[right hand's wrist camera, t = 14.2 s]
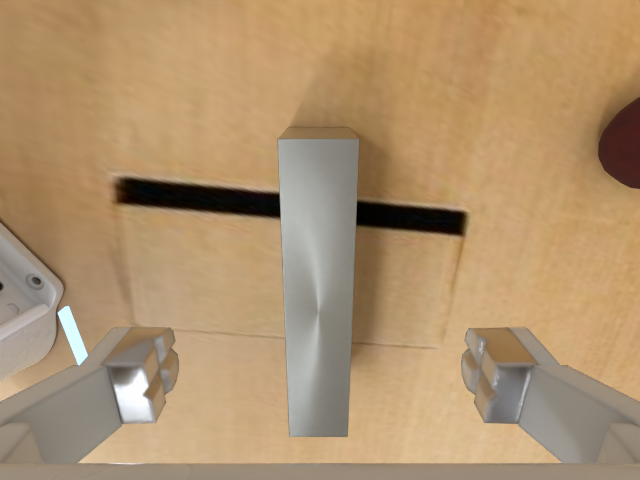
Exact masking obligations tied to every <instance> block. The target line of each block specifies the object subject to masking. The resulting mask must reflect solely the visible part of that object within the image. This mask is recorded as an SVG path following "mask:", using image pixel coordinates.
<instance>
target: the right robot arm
mask: <svg viewBox="0 0 640 480" xmlns="http://www.w3.org/2000/svg"><path fill="white" fill-rule="evenodd" d="M38 278H39V279H40V280H41V281H40V280H38ZM63 291H64V287H63V284H62V282H61V281H60V280H59V279H58V278H57V277H56V276H55V275H54V274H53V273H52V272H51V271H50V270H49V269H48V268H47V267H46V266H45V265H44V264H43V263H42V262H41V261H40V260H39V259H38V258H37V257H36V256H35V255H34V254H32V253H31V252H30V251H29V250H28V249H27V248H26V247H25V246H24V245H23V244H22V243H21V242H20V241H19V240H18V239H17V238H16V237H15V236H14V235H13V234H12V233H11V232H10V231H9V230H8V229H7V228H6V227H5V226H4V225H3V224H2V223H0V383H2V382H3V381H5V380H6V379H8V378H10V377H11V376H13V375H15V374H16V373H18V372H20V371H22V370H24V369H26V368H28V367H30V366H32V365H34V364H36V363H38V362H39V361H40V360H42V359H43V358H44V357H45V356H46V355H47V354H48V353H49V351H50V350H51V348H52V346H53V344H54V341H55V337H56V330H57V325H56V308H57V306H58V304H59V302H60V300H61V298H62V295H63ZM58 315H59V317H60V320H61V322H62V325H63V327H64V330H65V332H66V335H67V337H68V340H69V342H70V345H71V347H72V350H73V352H74V355H75V357H76V360H77V362H78V365H73V366H71V367H69V368H67V369H65V370H63V371H61V372H59V373H57V374H55V375H53V376H51V377H49V378H47V379H45V380H43V381H41V382H39V383H37V384H35V385H33V386H31V387H29V388H27V389H25V390H23V391H21V392H19V393H17V394H15V395H13V396H11V397H9V398H7V399H5V400H3V401H1V402H0V480H640V402H639V401H637V400H635V399H633V398H631V397H629V396H627V395H625V394H623V393H621V392H619V391H617V390H615V389H613V388H611V387H609V386H607V385H605V384H603V383H601V382H599V381H597V380H595V379H593V378H591V377H589V376H587V375H585V374H583V373H581V372H579V371H577V370H575V369H573V368H571V367H569V366H567V365H560V364H559V363H558V362H557V360H556V359H555V358H554V357H553V356H552V355H551V354H550V353H549V351H548V350H547V349H546V348H545V347H544V346H543V345H542V344H541V343H540V341H539V340H538V339H537V338H536V337H535V336H534V335H533V334H532V332H531V331H530V330H529V329H528V328H525V327H505V328H468V330H467V332H466V336H465V342H466V344H467V346H468V349H467V350H466V351H465V352H464V353H463V354H462V361H461V370H462V377H463V380H464V383H465V385H466V387H467V389H468V390H469V391H470V392H472V393H473V394H475V400H474V403H475V405H476V407H477V409H478V411H479V413H480V415H481V417H482V419H483V421H484V423H505V424H518V426H519V427H521V428H522V429H523V430H524V431H525V432H527V433H528V434H529V435H530V436H531V437H532V438H534V439H535V440H536V441H537V442H538V443H540V444H541V445H542V446H543V447H544V448H546V449H547V450H548V451H549V452H550V453H551V454H553V455H554V456H555V457H556V458H557V459H559V460H560V461H561V462H562V463H530V464H500V463H264V464H122V463H78V462H79V461H80V460H81V459H83V458H84V457H85V456H86V455H87V454H89V453H90V452H91V451H92V450H93V449H95V448H96V447H97V446H98V445H99V444H101V443H102V442H103V441H104V440H105V439H106V438H108V437H109V436H110V435H111V434H112V433H114V432H115V431H116V430H117V429H118V428H120V427H121V426H122V424H134V423H156V421H157V419H158V417H159V415H160V413H161V411H162V409H163V407H164V405H165V403H166V400H165V394H167V393H168V392H170V391H171V390H172V389H173V387H174V385H175V383H176V381H177V376H178V371H179V360H178V354H177V353H176V352H175V351H174V350H173V349H172V346H173V344H174V342H175V337H174V332H173V330H172V329H171V328H157V327H115V328H112V329H111V330H110V331H109V332H108V334H107V335H106V336H105V337H104V338H103V339H102V340H101V341H100V343H99V344H98V345H97V346H96V347H95V348H94V349H93V350H92V351H91V353H90V354H89V355H87V353H86V350H85V347H84V345H83V342H82V340H81V337H80V334H79V332H78V329H77V327H76V324H75V321H74V319H73V316H72V314H71V311H70V308H69V306H67V307H64V308H63V309H62V310H61V311H59V312H58Z"/></svg>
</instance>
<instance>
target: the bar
mask: <svg viewBox="0 0 640 480" xmlns="http://www.w3.org/2000/svg"><path fill="white" fill-rule="evenodd" d="M358 159H359V138H358V137H357V136H356V135H355V134H354V132H353V131H352V130H351V129H350V128H349V127H288V128H287V130H286V131H285V132H284V133H283V134H282V135H281V136H280V137H279V138H278V164H279V190H280V215H281V241H282V266H283V292H284V317H285V343H286V368H287V394H288V419H289V437H348V420H349V394H350V368H351V342H352V316H353V290H354V264H355V238H356V211H357V185H358Z"/></svg>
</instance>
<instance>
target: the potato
mask: <svg viewBox="0 0 640 480" xmlns="http://www.w3.org/2000/svg"><path fill="white" fill-rule="evenodd" d="M598 156H599V160H600V162H601V164H602V166H603V168H604V170H605V171H606V172H607V173H608V174H610V175H611V176H612V177H614V178H615V179H616V180H618V181H619V182H620V183H622V184H624V185H626V186H628V187H630V188H637V189H640V97H639V98H637V99H636V100H634V101H633V102H632V103H630V104H629V105H628V106H626V107H625V108H624V109H622V110H621V111H620V112H619V113H618V114H617V115H616V116H615V118H614V119H613V120H612V121H611V122H610V124H609V125H608V126H607V127H606V129H605V130H604V132H603V134H602V137H601V139H600V142H599V151H598Z"/></svg>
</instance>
